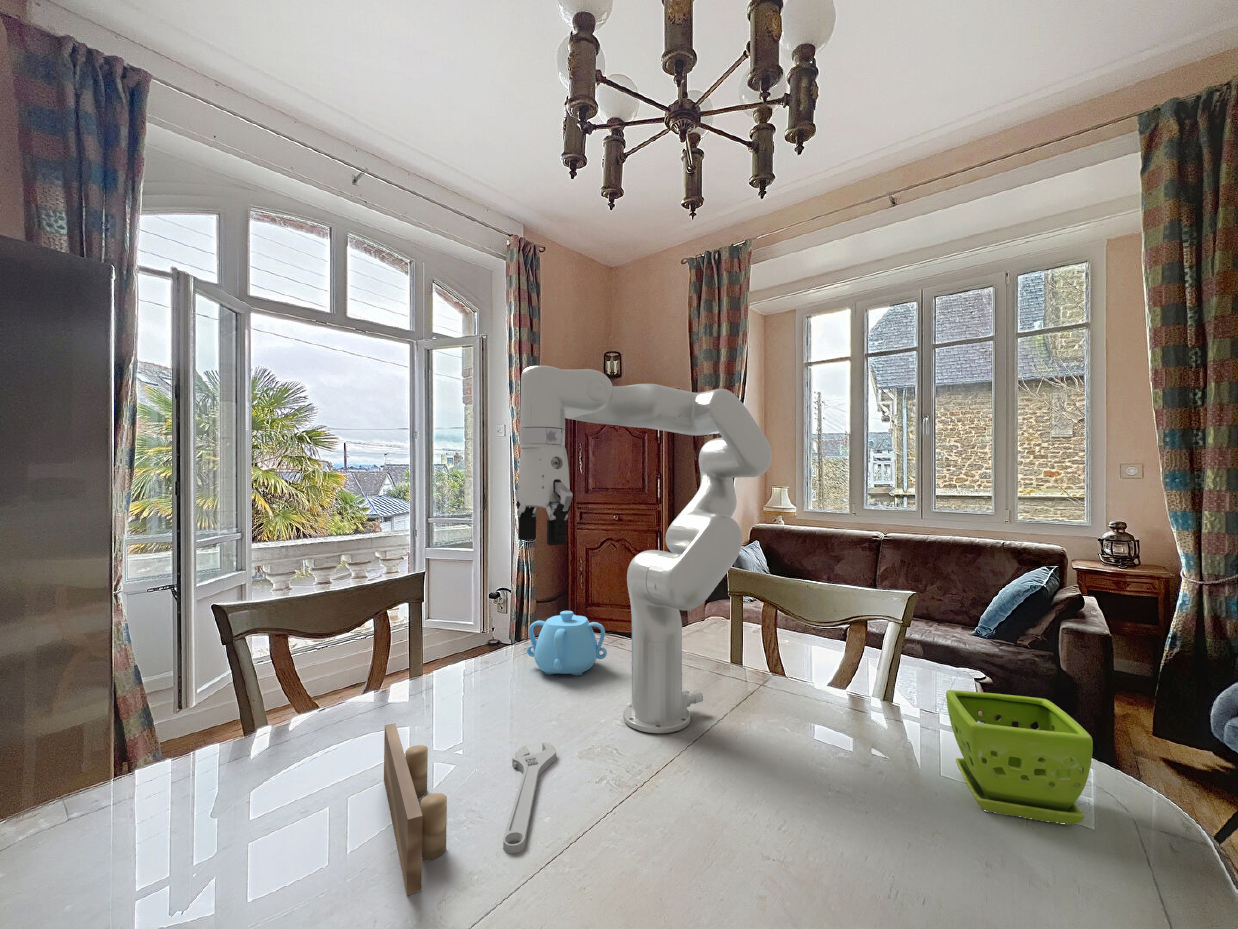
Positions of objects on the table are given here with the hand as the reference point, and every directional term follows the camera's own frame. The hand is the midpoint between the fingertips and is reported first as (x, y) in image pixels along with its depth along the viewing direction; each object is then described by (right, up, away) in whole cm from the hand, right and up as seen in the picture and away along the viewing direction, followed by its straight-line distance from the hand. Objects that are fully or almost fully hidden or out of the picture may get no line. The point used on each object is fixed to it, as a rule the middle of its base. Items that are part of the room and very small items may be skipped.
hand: (541, 542), depth 91 cm
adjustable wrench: (-1, -35, -13) cm, 37 cm away
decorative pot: (0, -36, +39) cm, 53 cm away
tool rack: (-14, -34, -20) cm, 42 cm away
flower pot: (+69, -35, -15) cm, 78 cm away
